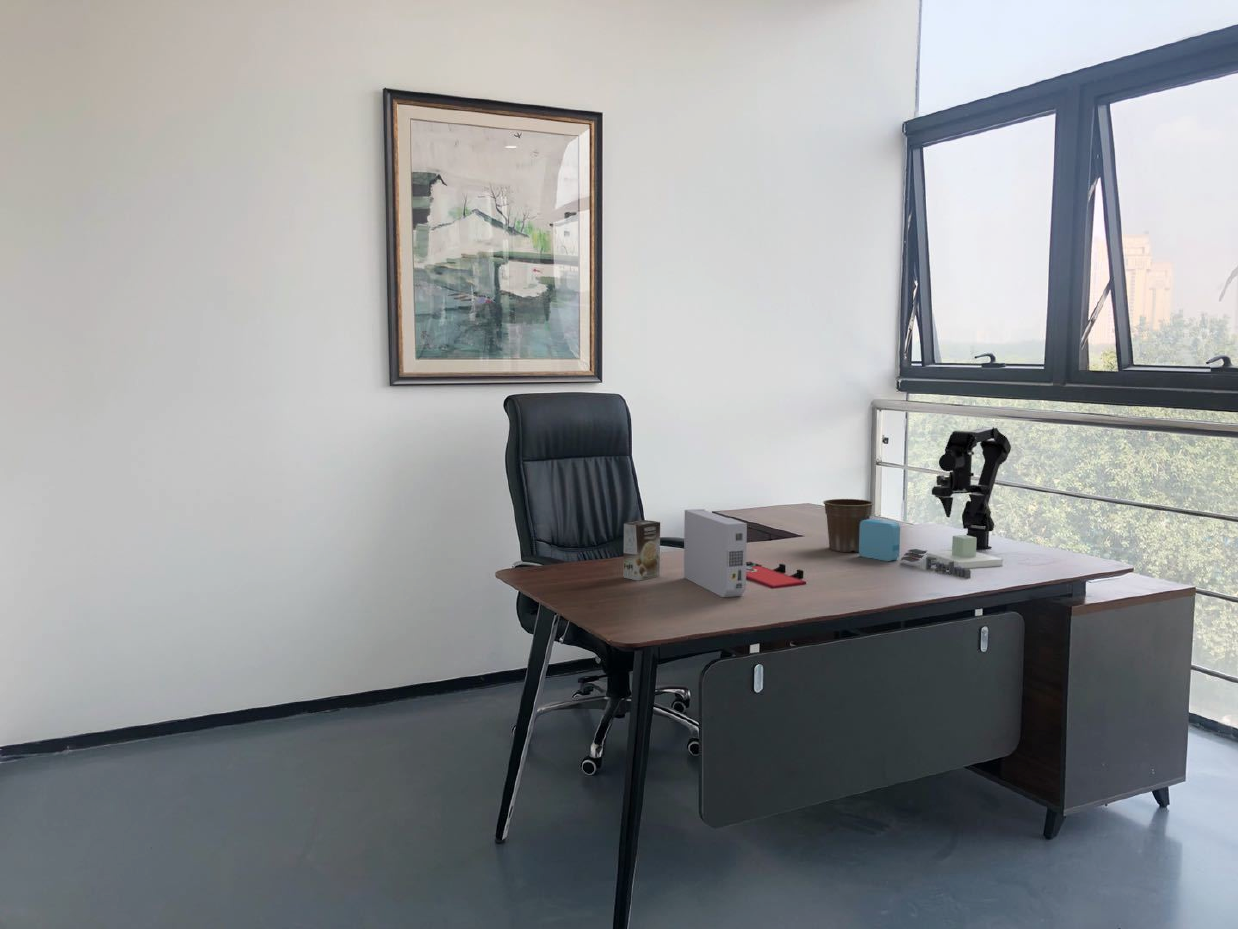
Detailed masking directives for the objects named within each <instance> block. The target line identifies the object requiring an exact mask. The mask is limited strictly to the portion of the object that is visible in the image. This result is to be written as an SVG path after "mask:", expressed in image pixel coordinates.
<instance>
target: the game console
mask: <svg viewBox="0 0 1238 929" xmlns="http://www.w3.org/2000/svg"><path fill="white" fill-rule="evenodd" d="M683 519H684V520H683V521H684V522H683V524H684V531H683V532H684V534H683V536H684V537H683V538H684V542H683V543H684V546H683V578H684V579H686V580H688V581H689V582H692V583H694V584H695V585H698V586H700V587H702V588H703V589H706V590H707V591H709V592H712V593H713V594H715V595H718V596H720V597H721V598H732V597H742V596H743V595H744V593H745V591H746V589H747V579H746V562H747V542H748V541H747V533H748V532H747V530H748V526H747V525H748V523H746V522H743V521H740V520H737V519H735V518H732V517H726V516H723V515H720V514H717V513H713V512H710V511H708V510H706V509H703V508H702V509H701V508H696V509H695V508H694V509H684V518H683Z"/></svg>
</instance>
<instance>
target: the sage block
mask: <svg viewBox="0 0 1238 929" xmlns="http://www.w3.org/2000/svg"><path fill="white" fill-rule="evenodd" d="M976 542H977V538H976V537H972V536H968V535H966V534H964V535H963V534H962V535H960V534H959V535H952V543H951V544H952V546H951V549H952V550H951V551H952V555H955V556H958V557H961V558H966V557H976V552H977V549H976Z"/></svg>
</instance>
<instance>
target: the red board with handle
mask: <svg viewBox="0 0 1238 929" xmlns="http://www.w3.org/2000/svg"><path fill="white" fill-rule="evenodd" d="M786 568H787V567H786V564H784V563H779V564H778V567H776V568H773V569H771V568H769V567H768V568H767V567H765V566H763V565H761V564H759V563H756V562H752V561H746V580H748V581H751V582H754V583H756V584H759V585H762V586H765V587H768V588H771V589H780V588H788V587H789V588H790V587H794V586H795V587H796V586H804V585H807V581H806V580H803V579H804V570H802V569H796V572H795V573H793V574H791V575H788V574H786Z"/></svg>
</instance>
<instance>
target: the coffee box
mask: <svg viewBox="0 0 1238 929" xmlns="http://www.w3.org/2000/svg"><path fill="white" fill-rule="evenodd" d="M660 554H661V521H654V520H647V519H643V520H636V521H629V522H627V521H626V522H624V523H623V565H622V566H623V569H622V570H623V572H622V573H623V578H624V579H629V580H633V581H637V582H638V581H639V582H640V581H643V580H648V579H653V578H657V577H660V576H661V575H660V573H661V572H660V571H661V570H660V568H661V566H660V565H661V561H660V560H661V555H660Z"/></svg>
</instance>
